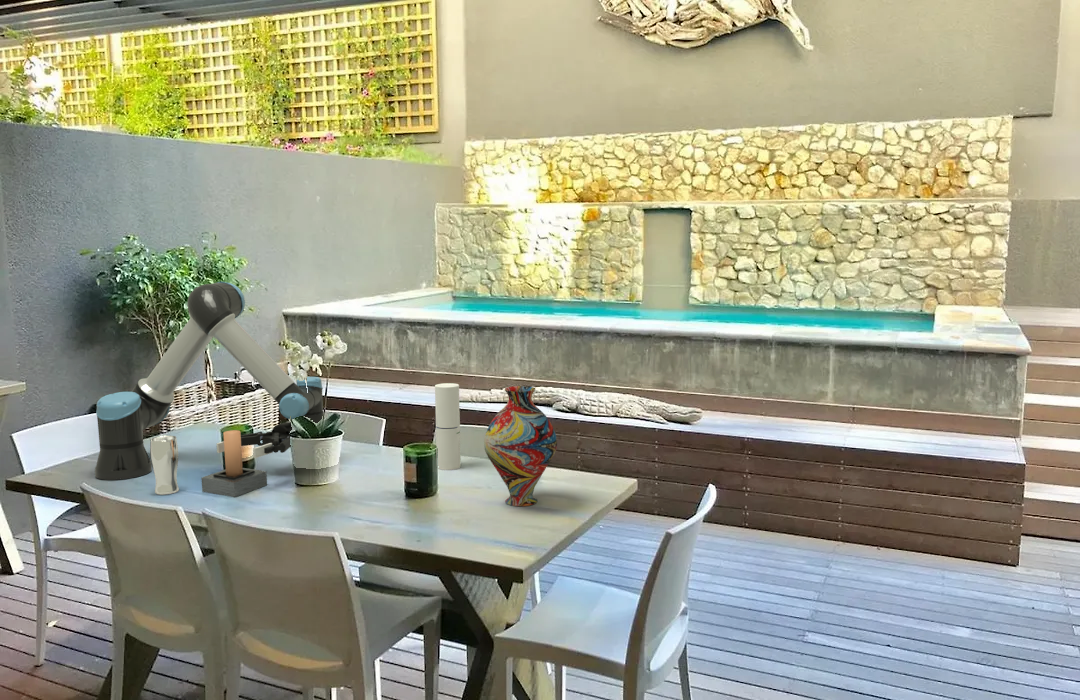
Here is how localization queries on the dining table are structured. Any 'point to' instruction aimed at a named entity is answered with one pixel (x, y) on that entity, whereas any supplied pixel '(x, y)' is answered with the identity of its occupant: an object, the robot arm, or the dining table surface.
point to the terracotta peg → (233, 453)
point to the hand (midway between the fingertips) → (235, 450)
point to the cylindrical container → (448, 426)
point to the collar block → (234, 482)
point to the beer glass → (165, 463)
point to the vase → (520, 444)
